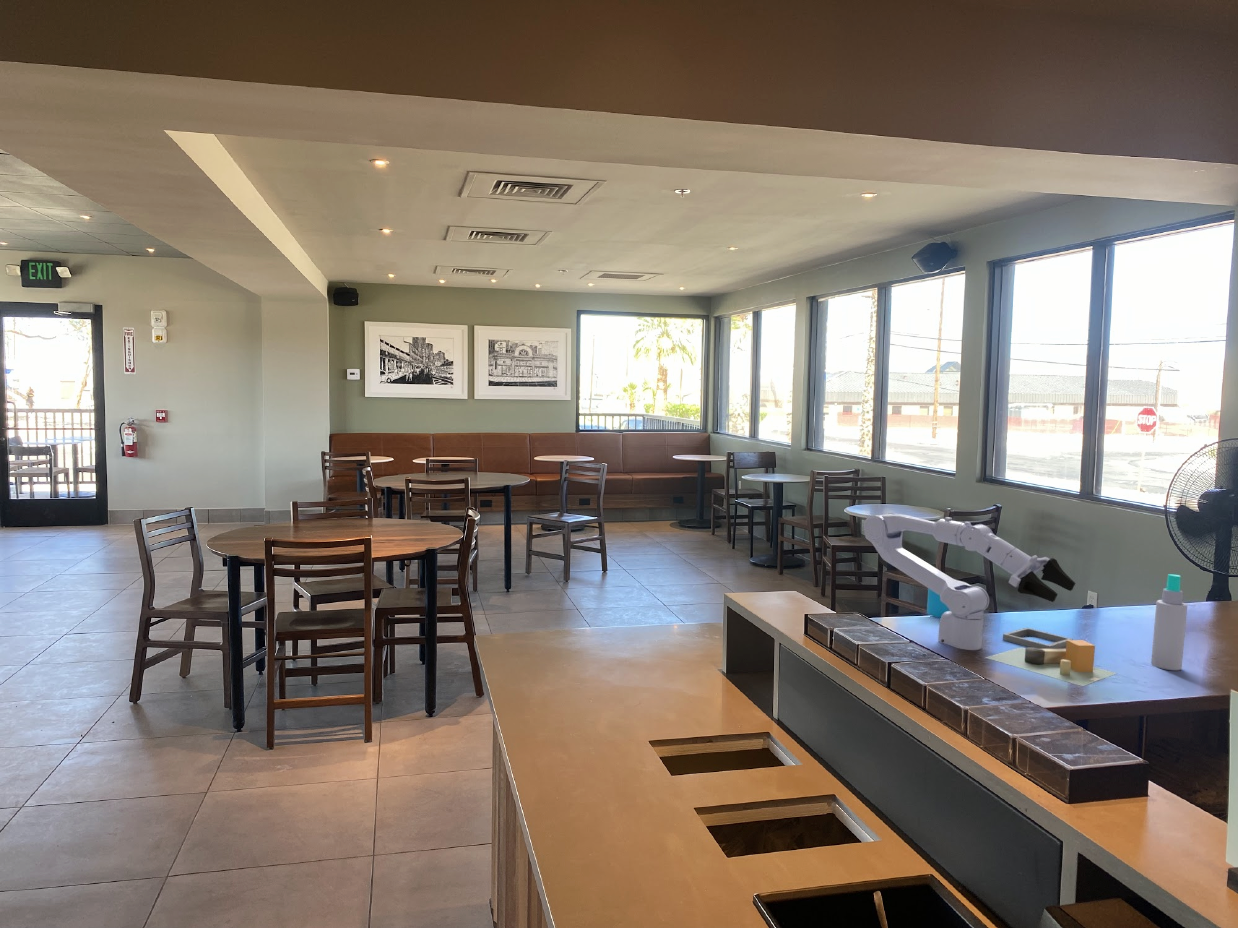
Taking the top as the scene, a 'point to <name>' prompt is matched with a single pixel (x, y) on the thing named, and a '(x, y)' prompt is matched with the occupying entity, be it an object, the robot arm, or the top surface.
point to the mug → (935, 604)
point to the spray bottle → (1169, 627)
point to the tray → (1028, 632)
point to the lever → (1044, 655)
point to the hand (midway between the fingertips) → (1064, 592)
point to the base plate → (1051, 668)
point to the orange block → (1080, 655)
